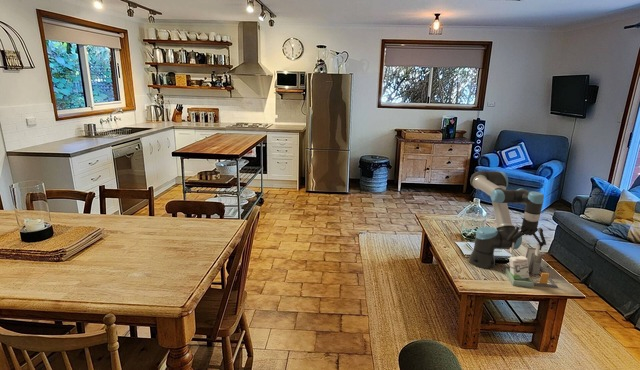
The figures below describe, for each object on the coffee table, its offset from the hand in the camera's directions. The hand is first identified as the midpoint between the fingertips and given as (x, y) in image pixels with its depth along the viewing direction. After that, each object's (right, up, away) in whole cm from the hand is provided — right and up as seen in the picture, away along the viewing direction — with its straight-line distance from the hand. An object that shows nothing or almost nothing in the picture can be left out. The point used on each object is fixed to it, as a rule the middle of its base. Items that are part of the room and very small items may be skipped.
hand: (523, 253), depth 208 cm
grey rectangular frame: (+14, -14, +12) cm, 23 cm away
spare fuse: (+15, -13, +18) cm, 26 cm away
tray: (-1, -16, +4) cm, 17 cm away
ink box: (0, -14, +4) cm, 15 cm away
